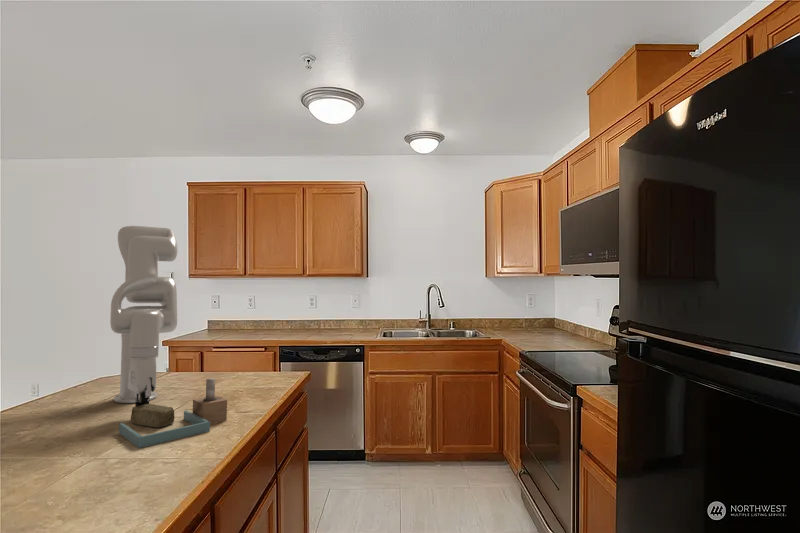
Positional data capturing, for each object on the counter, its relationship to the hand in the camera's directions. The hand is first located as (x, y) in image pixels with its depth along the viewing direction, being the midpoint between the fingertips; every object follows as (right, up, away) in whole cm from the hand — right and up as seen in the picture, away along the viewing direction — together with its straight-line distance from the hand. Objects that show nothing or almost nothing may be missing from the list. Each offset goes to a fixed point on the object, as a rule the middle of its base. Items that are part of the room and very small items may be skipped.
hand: (141, 414), depth 133 cm
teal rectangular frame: (+13, -1, -12) cm, 17 cm away
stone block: (+6, -1, -5) cm, 8 cm away
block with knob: (+20, -1, -1) cm, 21 cm away
